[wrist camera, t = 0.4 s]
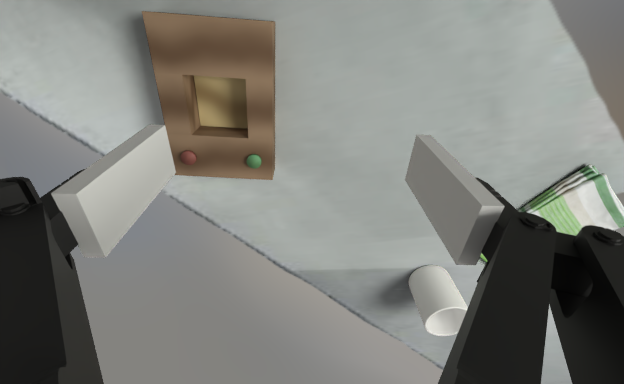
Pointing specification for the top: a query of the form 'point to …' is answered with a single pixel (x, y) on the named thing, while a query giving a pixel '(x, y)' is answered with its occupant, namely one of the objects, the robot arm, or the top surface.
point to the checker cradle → (216, 92)
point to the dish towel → (578, 203)
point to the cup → (437, 300)
